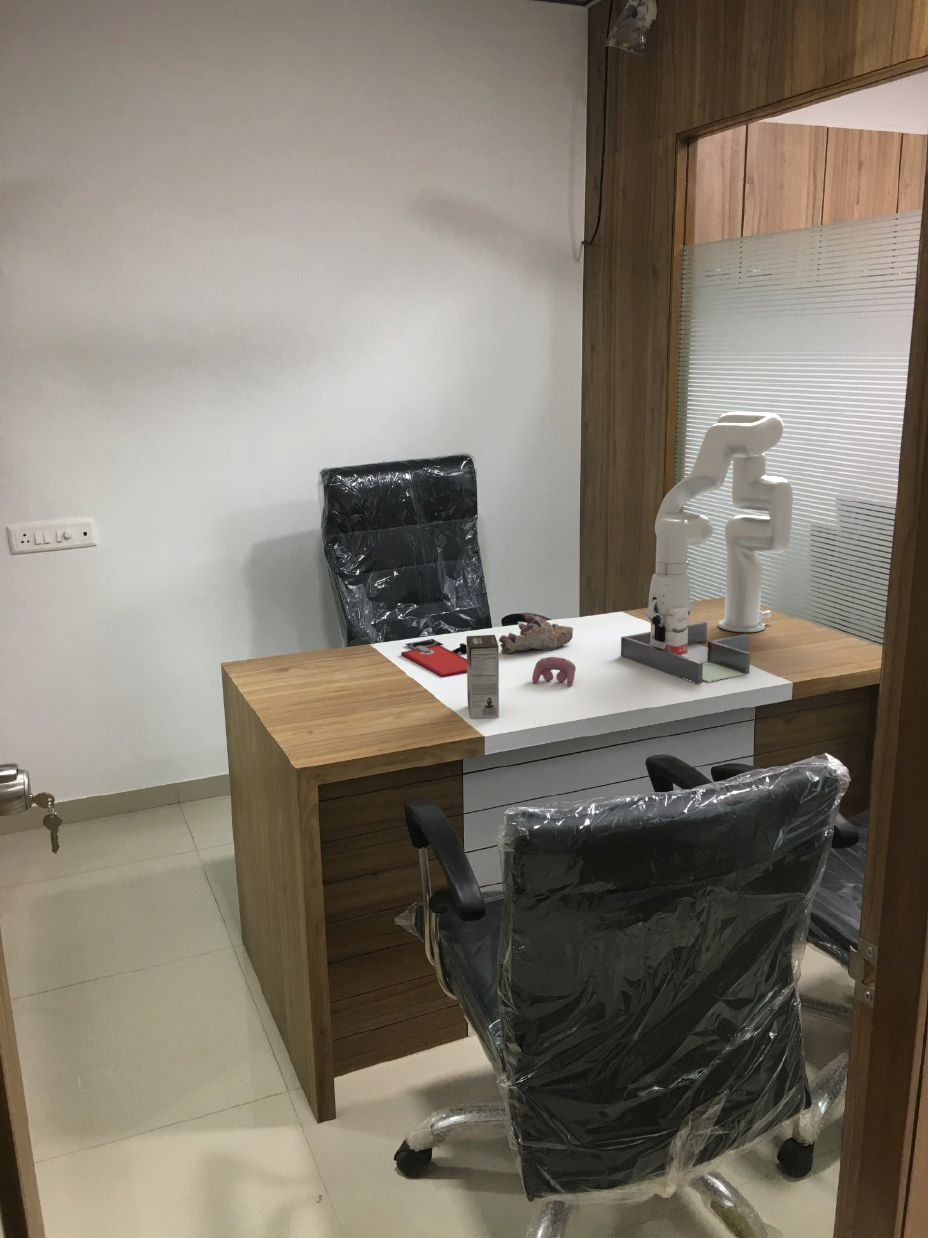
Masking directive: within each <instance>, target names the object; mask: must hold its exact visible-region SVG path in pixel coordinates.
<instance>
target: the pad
mask: <svg viewBox="0 0 928 1238" xmlns="http://www.w3.org/2000/svg"><path fill="white" fill-rule="evenodd" d="M743 674H744V673H742V672H739V671H736V670H733V669H730V668H727V667H725V666H722V665H719V664H716V663H713V662H705V663H703V673H702V680H704V681H703V682H705V681H707V682H710V683H713V682H712V681H714V682H716V681H715V680H719V681H721V680H720V679H723V680H726V679H725V678H728V679H731V678H736V677H740V676H743ZM707 682H706V683H707Z"/></svg>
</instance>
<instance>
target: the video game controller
mask: <svg viewBox="0 0 928 1238" xmlns="http://www.w3.org/2000/svg"><path fill="white" fill-rule="evenodd" d="M576 669H577V668H576V665H575V664H574V663H573V662H572V661H570V660H569V659H566V658H563V657H559V656H558V657H557V656H549V657H543V658H542V657H541V658H540V660H538V661H537V662H536V663H535V666H534V669H533V672H532V678H531V679H532V683H533V684H537V683H538V682H539V680H540V679H541V676H542V677H543V679H544V681H547V682H551V681H552V680H553V679H554V674H553V672H552V671H553V670H554V671H558V672H557V673H556V676H555V677H556V681H558V682H559V683H564V682H566V684H567V686H568V688H569V687H570V688H571V686H572V685H573V683H574V681H575V674H576Z"/></svg>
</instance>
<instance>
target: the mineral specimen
mask: <svg viewBox="0 0 928 1238" xmlns="http://www.w3.org/2000/svg"><path fill="white" fill-rule="evenodd" d="M524 619H525V621H526V622H527V623H526V624H525V623H518V625H517V626H518V628H519V630H520V631H519V635H518V634H517V635H516V634H514V633H511V632H509V633H508V635H504V634H503V635H501V636H500V637H499V638H498V642H499V643H500V644H499V647H501V650H500V653H501V654H505V655H508V654H510V653H512V652H516V651H526V650H530V649H535V650H539V649H543V650H545V649H549V650H555V649H557V647H558V648H560V647H561V646H563V645H568V643H570V642H571V640H572V639H573V637H574V636H573V632H574V629H573V627H572V626H565V625H559V624H557V623H552V624H551V623H550V622H549V621H547V620H546V619H545V618H542V617H541V616H535V615H533V614H531V613H528V614H524Z"/></svg>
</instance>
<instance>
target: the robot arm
mask: <svg viewBox="0 0 928 1238" xmlns="http://www.w3.org/2000/svg"><path fill="white" fill-rule="evenodd" d="M783 433H784V423H783V420H782V419H781V417H780V416H779V415H778V414H776V413H770V412H747V411H746V412H742V411H741V412H739V411H737V412H727V413H724V414H722V415H721V416H719V417H718V419H717V423H716V424H715V423H714V424H713V425H711V426H709V428H707V430H706V432H705V434H704V437H703V439H702V442H701V445H700V447H699V450H698V453H697V456H696V458H695V460H694V464H693V466H692V469H691V471H690V473H689V474H688V475H687V476H686V477H685V478H683V479H681V480H680V481H679V482H678V483H677V484H676V485H674V486H673V487H672V488H671V489H670V490H669V491H668V492H667V493H666V495H665V496H664V498H663V500H662V501H661V504H660V507H659V510H658V513H657V515H656V518H655V523H654V532H655V535H656V545H655V546H656V547H655V550H656V551H655V573H653V574H652V578H651V581H650V586H649V593H648V608H647V610H646V611H645V612H644V615H645V617H647V618H648V620H649V621H650V623H651V622H652V623H653V625H655V635H654V639H655V640H657V641H660V642H664V641H665V627H664V626H663V624H664V621H665V617H666V615H668V614H669V610H670V609H676V608H688V616H689V615H690V613H691V612H692V611H693V609H694V608H695V605H694V603H693V602H692V601H691V588H690V578H689V573H688V572H687V571H688V567H689V566H690V563H689V561H688V546H702V545H703V544H705V543H707V542H708V541H709V540H710V538H711V537H712V534H713V531H714V528H713V523H712V521H711V519H709V518H708V517H707V516H704V515H701V514H695V513H694V514H693V513H685V512H683V513H682V512H679V511H680V510H681V509H682V507H683V506H684V505H686V504H687V503H688V502H690V501H692V500H693V499H695V498H698V497H700V496H704V495H706V494H708V493H711V492H714V491H717V490H718V489H720V488H721V487H722V486H723V484H724V482H725V479H726V477H727V473H728V471H729V468H730V466H731V462H732V486H731V487H732V488H731V492H732V493H731V499H732V504H733V506H734V507H735V508H736V509H738V510H742V511H750V512H759V513H760V512H761V513H768V516H763V515H762V516H761V515H752V514H737V515H734V516H732V517H730V518H729V519H728V520H727V522H726V524H725V526H724V539H725V546H726V576H725V577H726V580H725V581H726V582H725V598H724V600H725V601H724V618H723V619H720V620H719V621H718V624H717V625H718V627H719V628H720V629H722V630H725V631H729V632H736V633H755V632H761V631H763V630H765V628H766V624H765V623H764V622H763V619H765V618H766V619H768V618H771V616H772V611H771V610H764V611H763V610H761V598H762V581H763V580H762V579H763V563H762V560H761V558H760V557H759V553H760V552H762V553H769V554H781V553H784V552H785V551H786V550H787V549H788V548H789V545H790V541H791V535H792V520H793V519H792V517H793V501H794V500H793V498H794V497H793V496H794V495H793V494H794V493H793V487H792V485H791V483H790V482H789V480H787V479H785V478H784V477H779V476H767V473H766V469H767V467H766V464H767V463H766V461H767V460H766V459H767V458H766V454H765V452H767V451H769V450H771V449H772V448H774V447H775V446H777V445H778V443H779V442H780V441H781V439H782V437H783ZM758 552H759V553H758ZM655 610H656V611H655ZM654 611H655V615H654ZM659 616H661V617H660V620H659Z"/></svg>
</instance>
